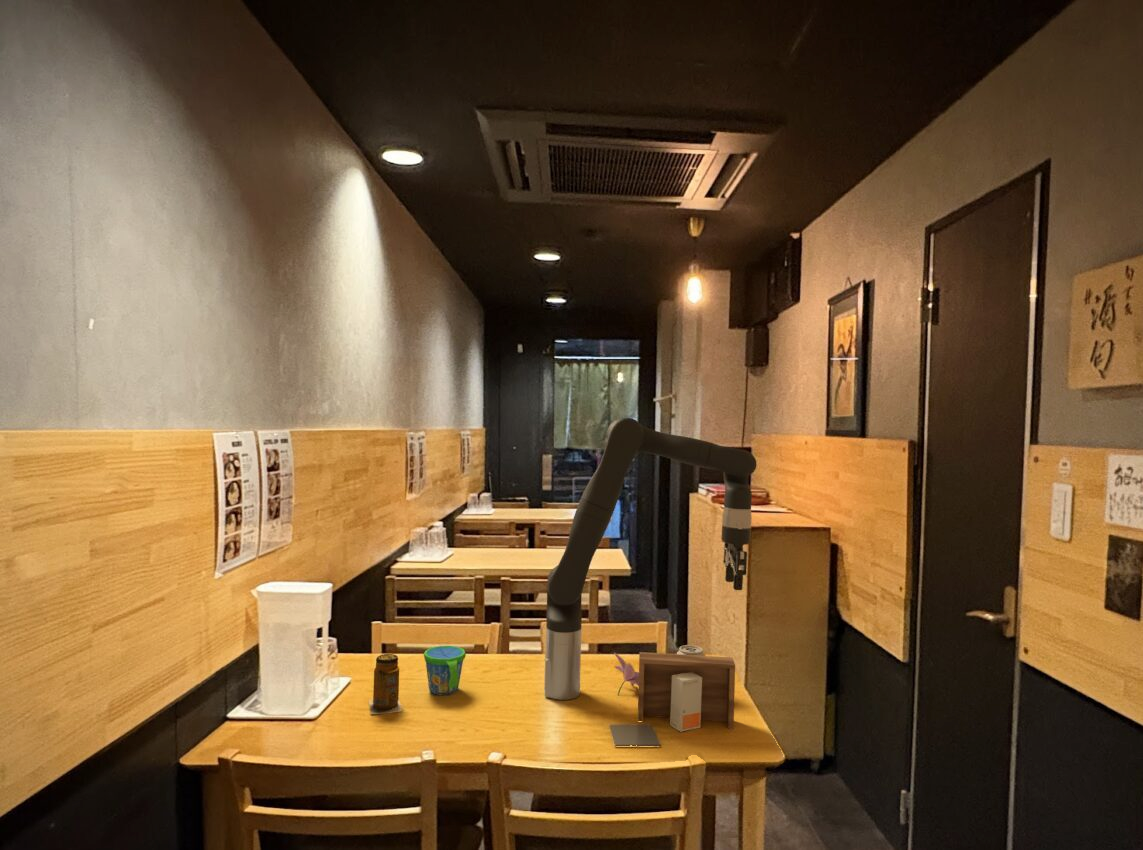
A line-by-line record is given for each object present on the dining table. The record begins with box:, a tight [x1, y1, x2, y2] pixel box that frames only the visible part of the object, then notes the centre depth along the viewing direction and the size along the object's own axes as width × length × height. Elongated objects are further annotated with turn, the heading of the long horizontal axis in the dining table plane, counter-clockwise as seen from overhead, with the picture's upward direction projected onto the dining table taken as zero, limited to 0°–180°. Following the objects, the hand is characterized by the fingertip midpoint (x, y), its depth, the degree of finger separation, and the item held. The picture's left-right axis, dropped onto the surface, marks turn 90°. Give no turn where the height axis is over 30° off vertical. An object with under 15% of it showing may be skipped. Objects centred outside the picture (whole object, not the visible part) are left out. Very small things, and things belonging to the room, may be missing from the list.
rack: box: [637, 651, 736, 730], centre depth 162 cm, size 5×22×15 cm, turn 84°
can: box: [676, 644, 706, 656], centre depth 179 cm, size 8×8×12 cm
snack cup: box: [423, 645, 466, 696], centre depth 176 cm, size 16×10×10 cm
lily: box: [613, 652, 639, 696], centre depth 178 cm, size 12×12×10 cm
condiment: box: [368, 653, 403, 715], centre depth 165 cm, size 7×8×12 cm
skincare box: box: [669, 672, 702, 733], centre depth 158 cm, size 6×4×12 cm
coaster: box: [609, 723, 661, 747], centre depth 152 cm, size 10×10×1 cm
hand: (733, 585), depth 179 cm, fingers open, 8 cm apart
